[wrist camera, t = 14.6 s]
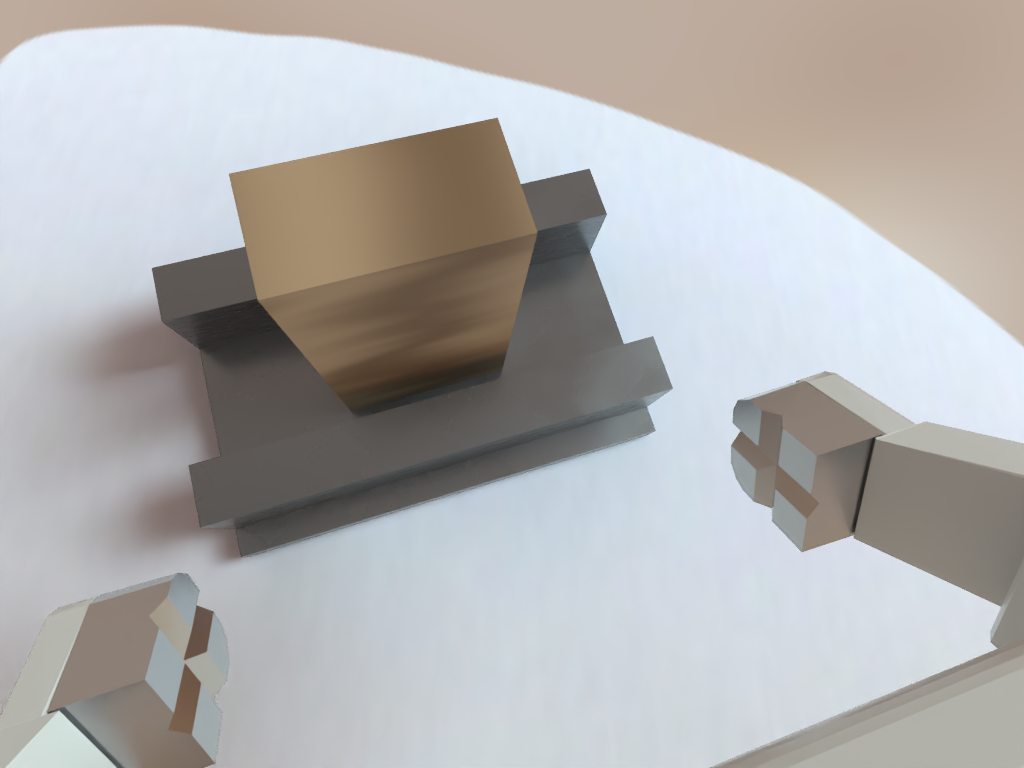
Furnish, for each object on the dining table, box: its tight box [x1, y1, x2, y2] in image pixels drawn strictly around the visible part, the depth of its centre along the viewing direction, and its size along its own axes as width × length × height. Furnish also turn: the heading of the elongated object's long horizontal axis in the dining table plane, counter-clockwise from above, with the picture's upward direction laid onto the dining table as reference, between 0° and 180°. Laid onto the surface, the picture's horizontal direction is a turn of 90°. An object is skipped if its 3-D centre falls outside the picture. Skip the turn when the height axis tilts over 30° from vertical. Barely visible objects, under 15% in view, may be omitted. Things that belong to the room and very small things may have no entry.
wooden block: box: [229, 118, 538, 412], centre depth 18 cm, size 6×3×11 cm, turn 107°
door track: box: [152, 169, 673, 557], centre depth 23 cm, size 16×11×4 cm
